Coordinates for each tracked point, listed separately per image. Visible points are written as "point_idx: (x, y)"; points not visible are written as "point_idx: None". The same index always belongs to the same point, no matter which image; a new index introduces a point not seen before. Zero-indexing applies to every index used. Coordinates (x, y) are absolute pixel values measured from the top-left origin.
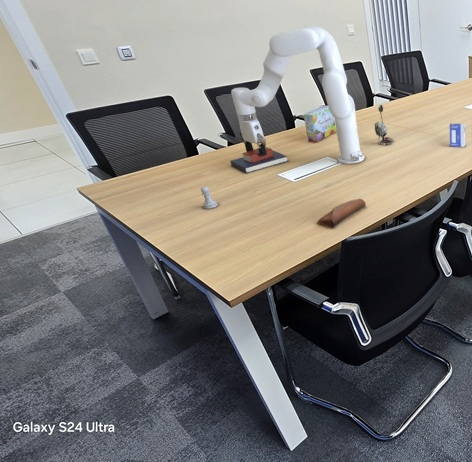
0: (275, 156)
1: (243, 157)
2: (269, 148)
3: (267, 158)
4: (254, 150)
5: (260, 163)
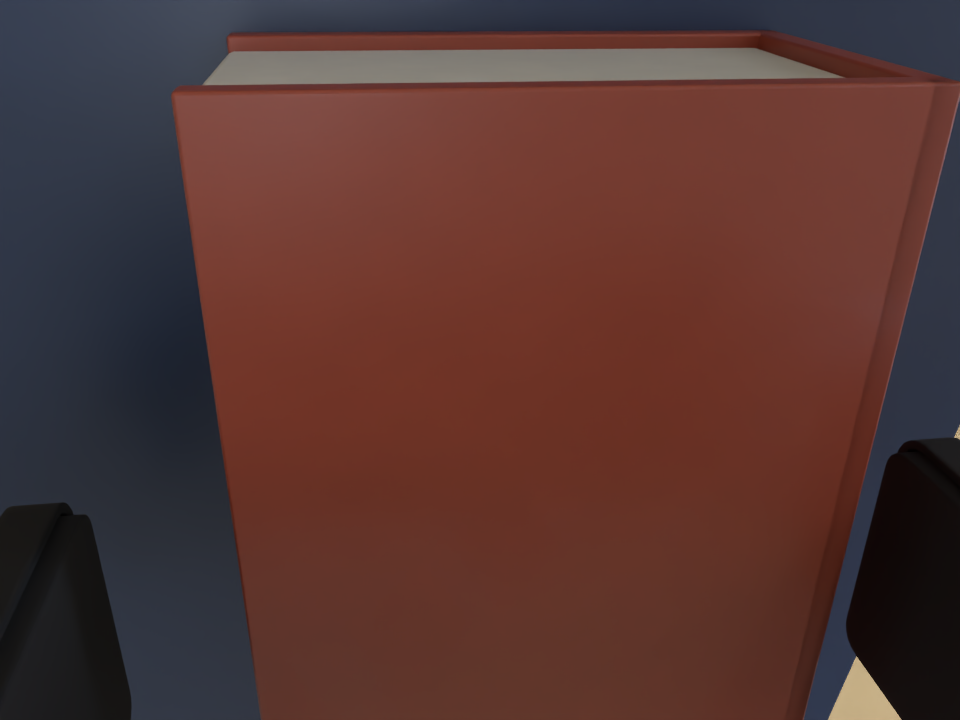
0: (861, 6)
1: None
2: (793, 105)
3: None
4: (392, 654)
5: None
